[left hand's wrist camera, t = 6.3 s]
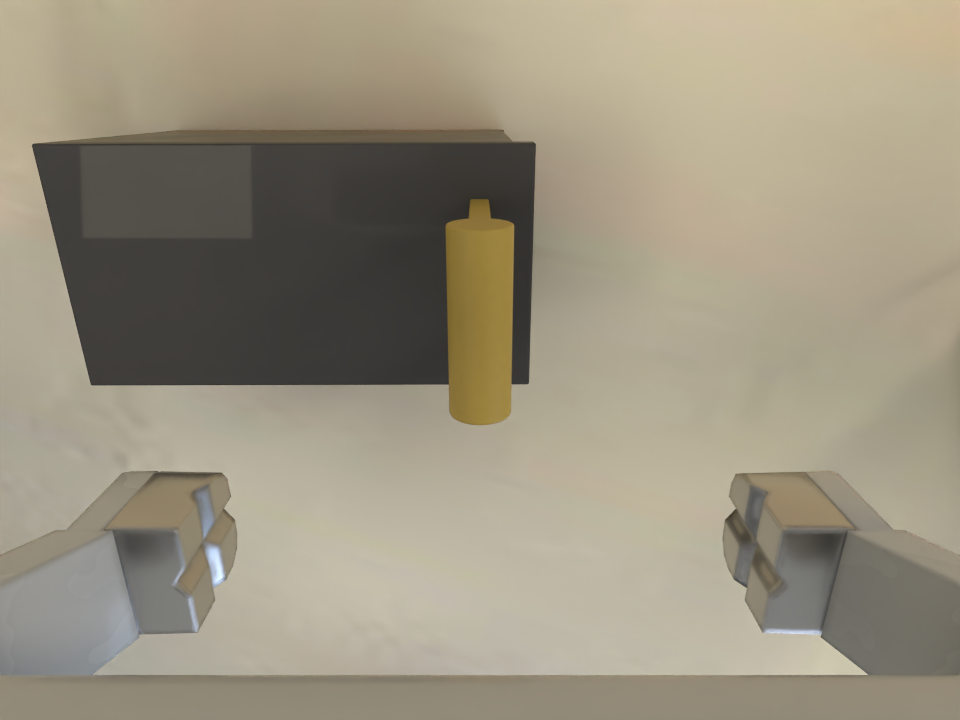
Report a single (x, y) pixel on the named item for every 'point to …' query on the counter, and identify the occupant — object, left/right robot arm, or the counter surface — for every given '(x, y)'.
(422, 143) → the lid
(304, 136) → the chest
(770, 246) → the counter surface
